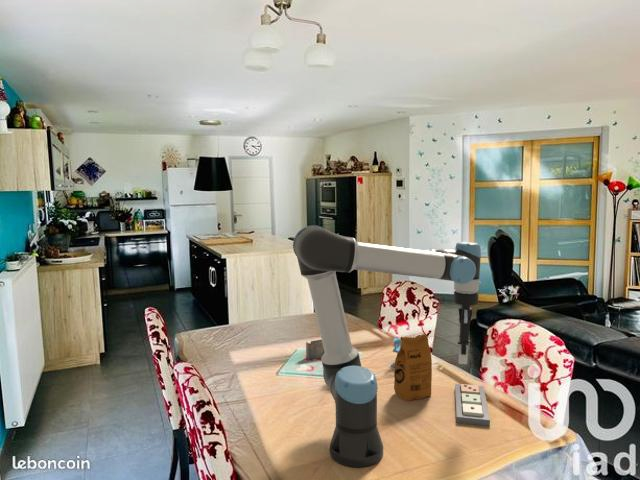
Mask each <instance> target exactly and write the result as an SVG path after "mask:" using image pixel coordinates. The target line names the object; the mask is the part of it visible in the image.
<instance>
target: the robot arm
mask: <svg viewBox="0 0 640 480" xmlns="http://www.w3.org/2000/svg"><path fill="white" fill-rule="evenodd" d="M292 251H293V252H294V254H295V256H296V258H297V263H298V267H299V271H300V275H301V276H302V277H303V278H304V279H306V280H307V283H308V287H309V291H310V295H311V300H312V301H311V302H312V304H313V308H314V313H315V316H316V317H315V318H316V322H317V326H318V330H319V334H320V338H321V339H320V340H322V343H323V347H324V352H325V353H324V355H323V356H322V357H321V358H320V360H321V364H322V368H323V369H322V370H323V371H322V372H323V373H322V374H323V376H322V377H323V379H324V380H323V381H324V383H325V385H326V387H327V388H328V390H329V392H330V394H331V396H332V398H333V400H334V404H335V427H334V430H333V434H332V437H331V440H330V443H329V454H330V457H331V458H332V459H333V460H334V461H335V462H337V463H338V464H340V465H343V466H346V467H352V468H365V467H370V466H373V465H376V464H377V463H379V462H380V461H381V460H382V458H383V456H384V444H383V441H382V438H381V435H380V432H379V428H378V389H379V388H378V383H377V381H378V380H377V376H376V375H375V373H374V371H372V370H371V369H369V368H367V367H366V368H365V367H364V366H362V363H361V358H360V353H359V350H358V349H357V348H355V347H353V344H352V342H351V337H350V332H349V328H348V322H347V319H346V313H345V309H344V305H343V300H342V297H341V291H340V287H339V283H338V279H337V274H336V272H339V273H351V272H352V271H354V270H356V271H363V272H364V271H366V272H372V273H373V272H375V273H382V274H383V273H384V274H389V275H390V274H393V275H399V276H400V275H401V276H409V277H417V278H427V279H437V280H442V281H443V280H444V281H448V282H449V281H451V282H453V289H454V291H453V303H454V304H456V305H460V306H461V307H458V316H459V317H458V320H459V341H457V345H458V361H457V362H458V364H459V365H460V364H461V365H468V356H469V344H470V343H471V340H470V327H471V323H472V321H471V320H472V316H473V309H472V308H471V307H470V306H477V305H479V298H480V297H479V295H480V294H479V291H480V288H479V287H480V285H482V282H481V281H480V275H481V274H480V271H481V259H482V255H481V252H482V251H481V245H480V244H479V243H477V242H474V241H473V242H470V241H459V242H457V243H456V245H455V248H447V249H446V248H445V249H443V248H441V249H440V248H439V249H438V248H437V249H436V248H434V249H433V248H429V249H428V248H427V249H415V248H404V247H400V246H399V247H398V246H391V245H390V246H389V245H384V244H374V243H369V242H368V243H367V242H360V241H357V240H356V238H354V237H351V236H345V235H340V234H337V233H335V232H332V231H330V230H329V229H326V228H324V227H323V226H321V225H316V224H315V225H314V224H313V225H308V226H307V225H306V226H305V227H303V228H301V229H300V230H299V231H298V232H296V234H295V236H294V238H293V243H292ZM458 364H457V365H458Z"/></svg>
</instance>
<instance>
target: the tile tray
mask: <svg viewBox="0 0 640 480" xmlns="http://www.w3.org/2000/svg"><path fill="white" fill-rule="evenodd" d="M461 384H462V383H461ZM461 384H460V383H455V384H454V395H455V413H456V415H455V416H456V417H455V418H456V419H455V420H456V423H458V424H464V423H466V425H474V424H476V425H477V426H483V425H485V426H484V427H490V426H491V423H490V422H491V419H490V418H491V417H490V413H489V408H488V403H487V398H486V392H485V387H484V386H483V385H478V387H479V395H480V399H481V405H482V411H483V417H479V416H469V415H463V412H462V394H461ZM476 425H475V426H476Z"/></svg>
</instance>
